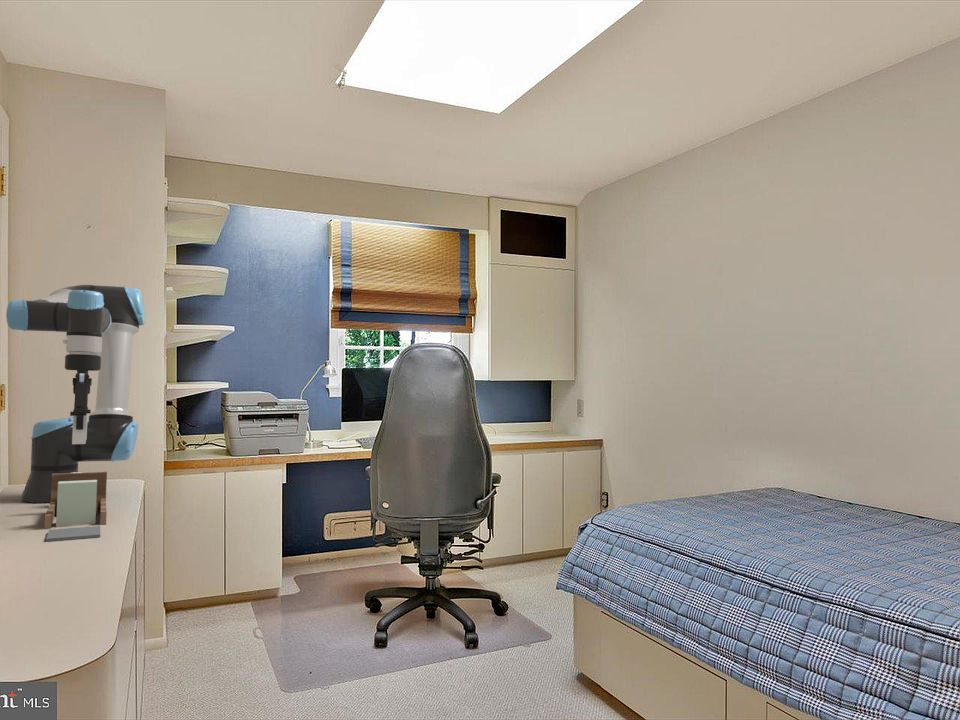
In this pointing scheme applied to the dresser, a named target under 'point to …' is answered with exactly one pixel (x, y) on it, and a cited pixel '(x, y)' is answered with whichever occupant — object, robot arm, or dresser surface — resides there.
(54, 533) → the rubber pad
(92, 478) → the rack
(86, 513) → the block
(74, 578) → the dresser surface
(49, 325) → the robot arm
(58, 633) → the dresser surface
